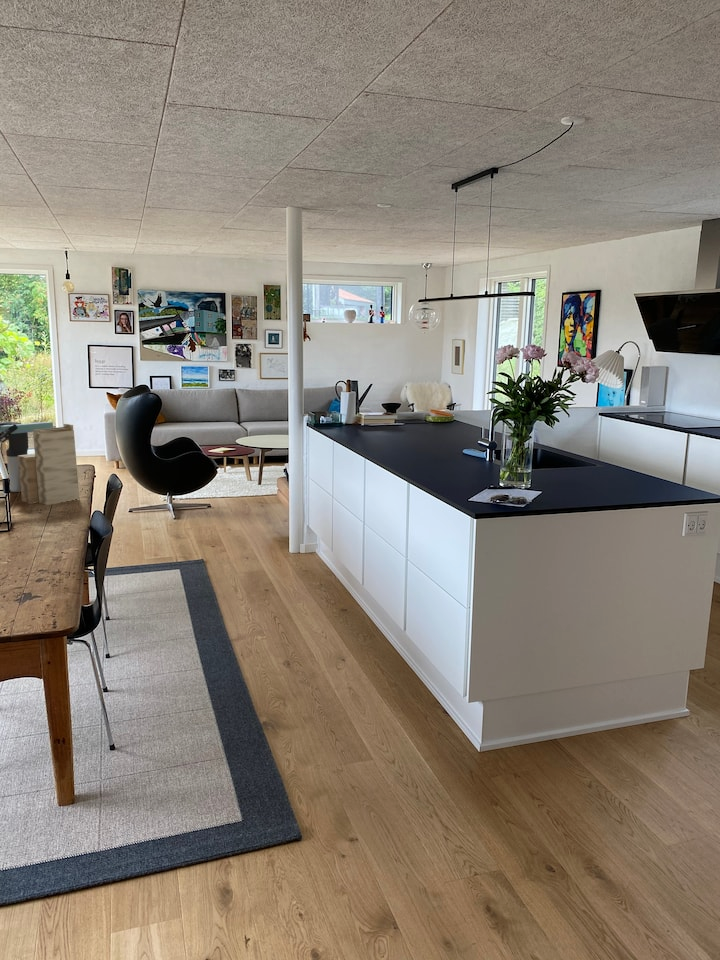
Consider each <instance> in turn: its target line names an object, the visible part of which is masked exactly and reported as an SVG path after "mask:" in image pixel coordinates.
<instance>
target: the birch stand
mask: <svg viewBox="0 0 720 960" xmlns="http://www.w3.org/2000/svg"><path fill="white" fill-rule="evenodd" d="M32 436H33V437H32V438H33V445H34V446H33V448H34V454H35V461H36V472H37V483H38V494H39V502H38V503H40V504H43V505H45V506H51V505H57V504H62V503H61V502H63V503H67V502H66V501H69V502H71V501H70V500H74V499H79V500H80V490H79V479H78V477H79V476H78V467H77V466H78V465H77V454H76V453H77V452H76V439H75V430H74V424H69V423H63V426H59V427H53V428H48V429H38V430H34V432H32ZM74 501H75V500H74Z"/></svg>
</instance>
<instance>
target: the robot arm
mask: <svg viewBox="0 0 720 960" xmlns="http://www.w3.org/2000/svg"><path fill="white" fill-rule="evenodd" d="M16 424H23V423H22V422H17V421H16V422H15V421H6V422H0V426H4V425H13V426H11V427H10V428H8V429H6V430H5V431H1V430H0V443H1V444H2V443H5V442H6V441H8V448H7V450H6V451H5V453H6V454H5V455H6V465H7V473H9V475H8V480H9V479H10V485H9V490H10V489H11V491H10V492H11V493H14V492H15V493H19V492H21V485H20V474H19V464H18V456H19V455H27V454H28V450H29V432H26V433H15V434H11V433H12V432H14V431H15V430H17V429H18V427H17V426H16Z"/></svg>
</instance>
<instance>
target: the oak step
mask: <svg viewBox="0 0 720 960" xmlns="http://www.w3.org/2000/svg"><path fill="white" fill-rule="evenodd" d="M18 464H19V474H20V485H21V495H20V496H21V501H22V502H25V503H27V504H30V505H31V504H35V503H39V494H38V483H37V472H36V461H35V453H27V455H19V456H18Z"/></svg>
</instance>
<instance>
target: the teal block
mask: <svg viewBox="0 0 720 960" xmlns="http://www.w3.org/2000/svg"><path fill="white" fill-rule="evenodd" d="M11 426H13V425H4V426H0V430H1V431H5V430H6V429H8V428H10V427H11ZM16 426H17V427H18V429H17V430H15V431H14V432H12V433H11V434H15V433H26V432H28V433H33V432H34V430H38V429H48V428H54V423H53V422H52V421H43V422H42V421H41V422H28V423H22V424H16Z"/></svg>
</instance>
